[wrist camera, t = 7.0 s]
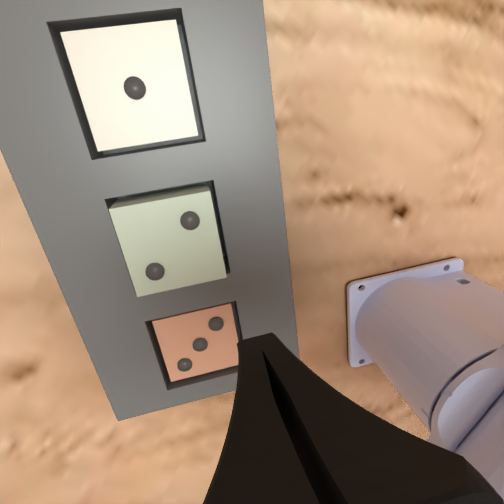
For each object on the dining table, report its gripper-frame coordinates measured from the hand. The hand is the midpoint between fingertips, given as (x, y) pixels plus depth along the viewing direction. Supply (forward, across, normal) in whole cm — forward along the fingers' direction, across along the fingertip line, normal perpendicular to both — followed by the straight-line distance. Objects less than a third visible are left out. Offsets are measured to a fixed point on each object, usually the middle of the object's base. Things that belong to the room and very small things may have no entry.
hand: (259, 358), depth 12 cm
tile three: (+9, +3, +4) cm, 10 cm away
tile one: (+9, +3, -10) cm, 14 cm away
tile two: (+8, +3, -3) cm, 9 cm away
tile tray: (+10, +2, -3) cm, 11 cm away
